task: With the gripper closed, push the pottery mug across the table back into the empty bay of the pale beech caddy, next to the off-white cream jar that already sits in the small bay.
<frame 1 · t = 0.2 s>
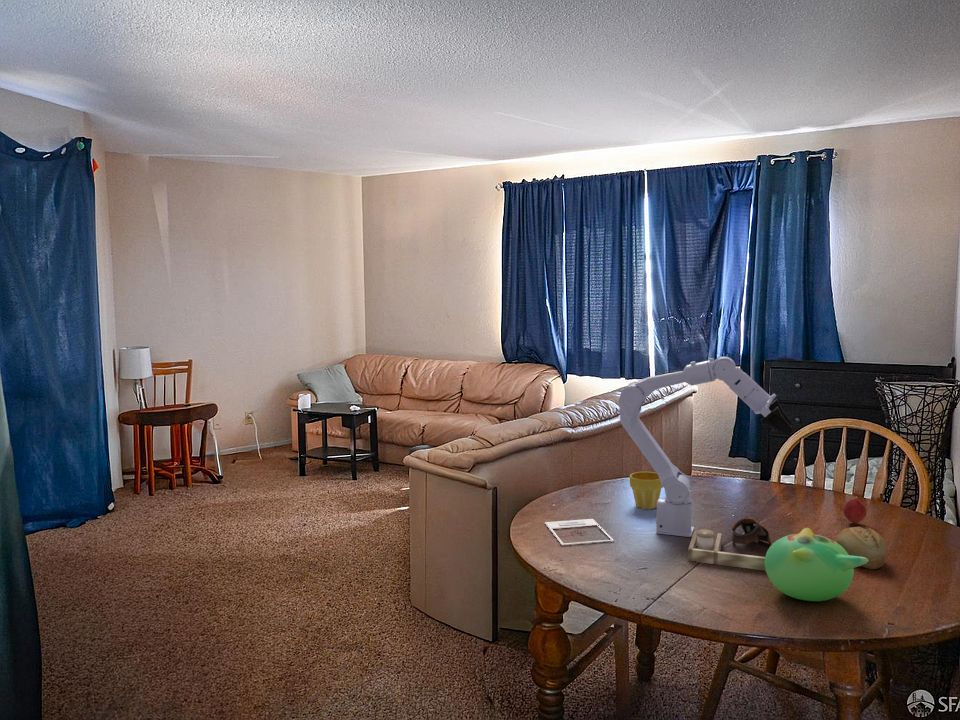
hand: (789, 429, 187), 31 cm above the table, tool tilted 45°, fingers open, 7 cm apart
toy bird: (808, 598, 158), on the table
caddy: (736, 555, 182), on the table
plant pot: (646, 506, 223), on the table
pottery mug: (750, 544, 190), on the table
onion: (854, 524, 204), on the table
photo frame: (578, 534, 201), on the table
cream jar: (705, 553, 184), resting in caddy
bread roll: (860, 560, 179), on the table
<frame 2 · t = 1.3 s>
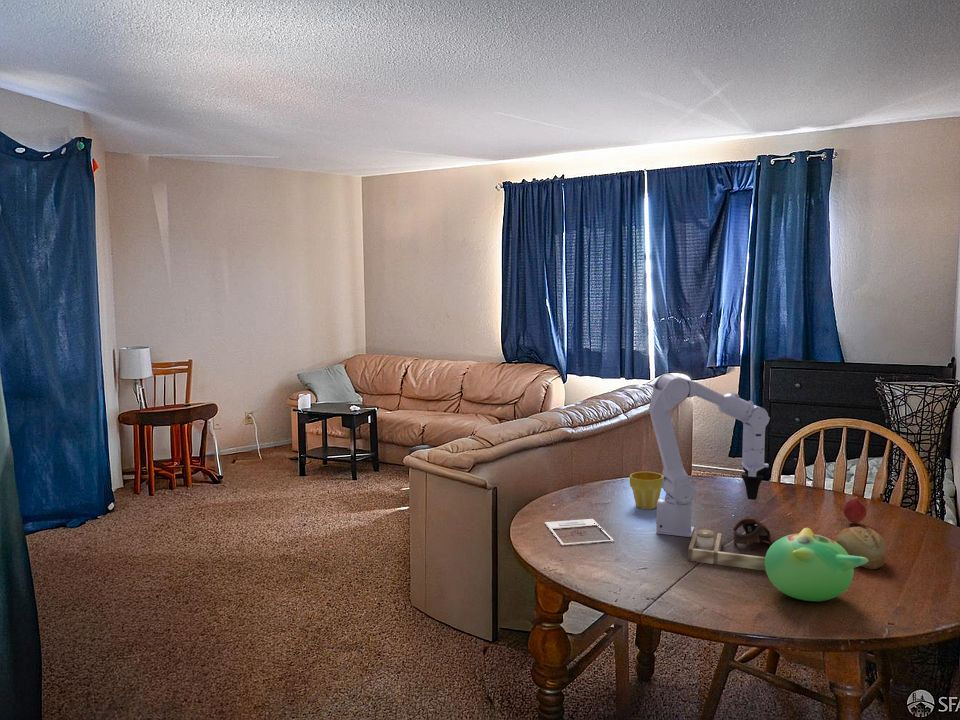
hand: (752, 495, 201), 9 cm above the table, tool pointing down, fingers open, 7 cm apart
nothing on the table moved.
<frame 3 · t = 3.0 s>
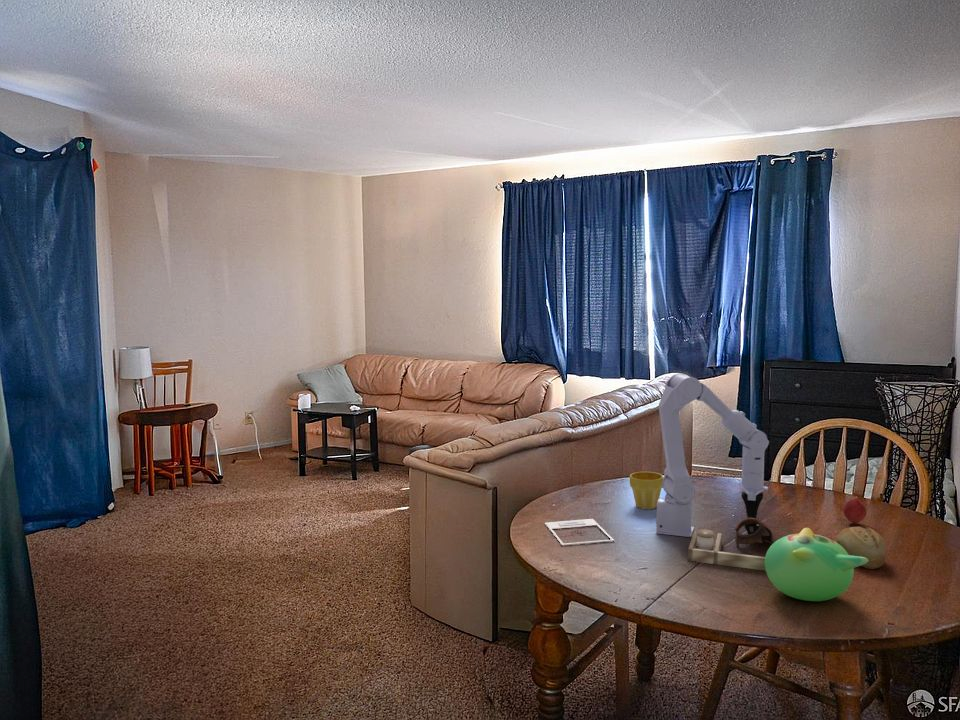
hand: (751, 518, 201), 3 cm above the table, tool pointing down, fingers closed
nothing on the table moved.
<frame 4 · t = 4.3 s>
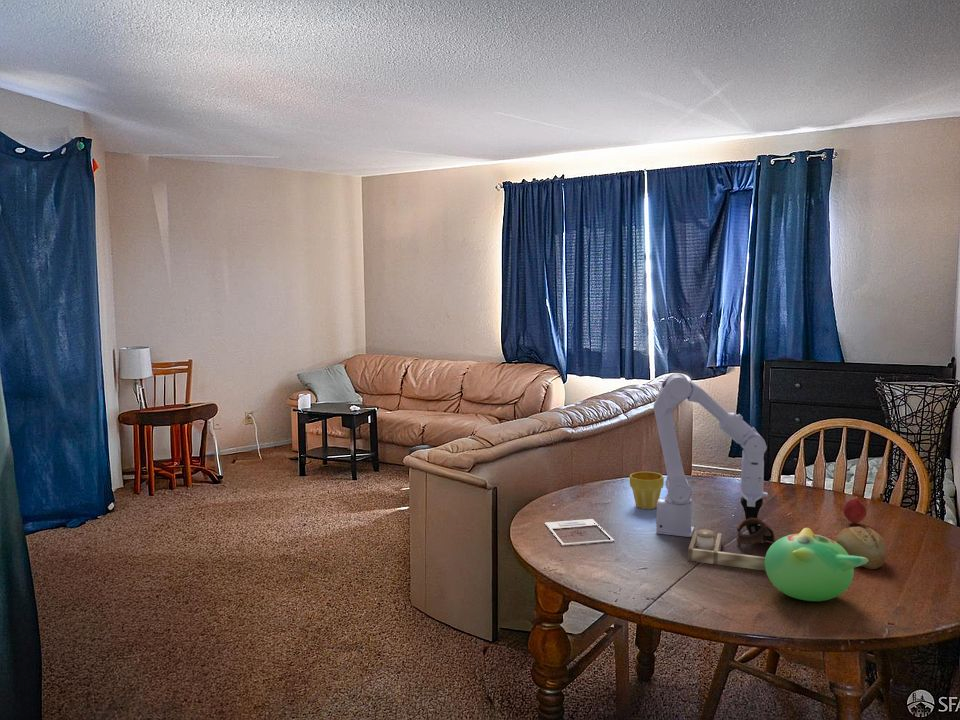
hand: (751, 524, 196), 3 cm above the table, tool pointing down, fingers closed
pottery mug: (755, 545, 190), on the table, touching gripper
everything else where it was.
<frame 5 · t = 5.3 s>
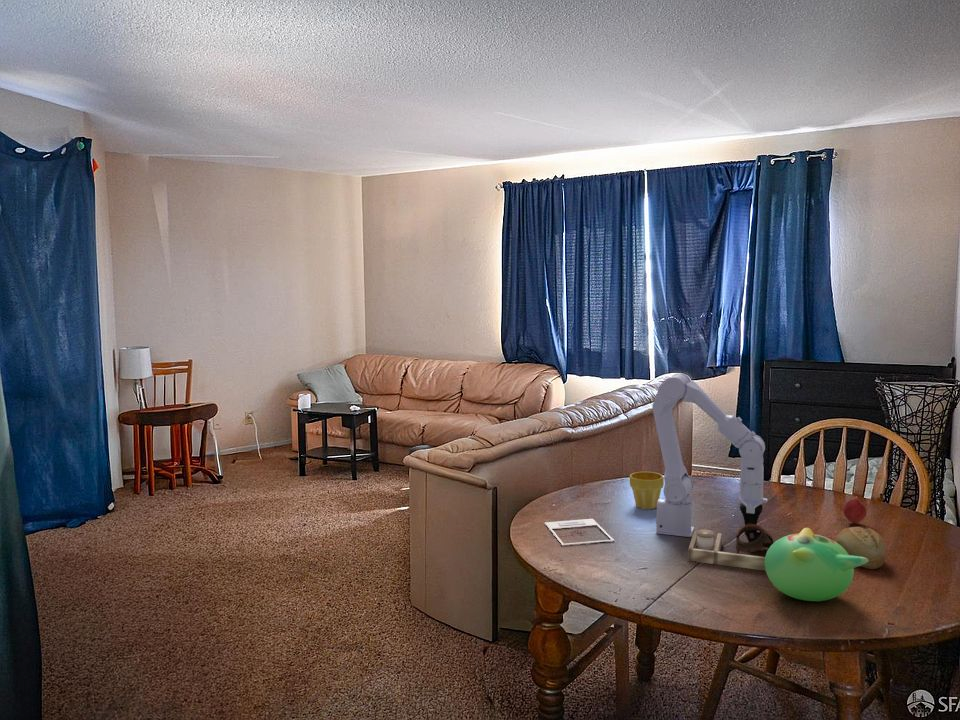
hand: (750, 531, 191), 3 cm above the table, tool pointing down, fingers closed
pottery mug: (754, 552, 184), on the table, touching gripper
everything else where it was.
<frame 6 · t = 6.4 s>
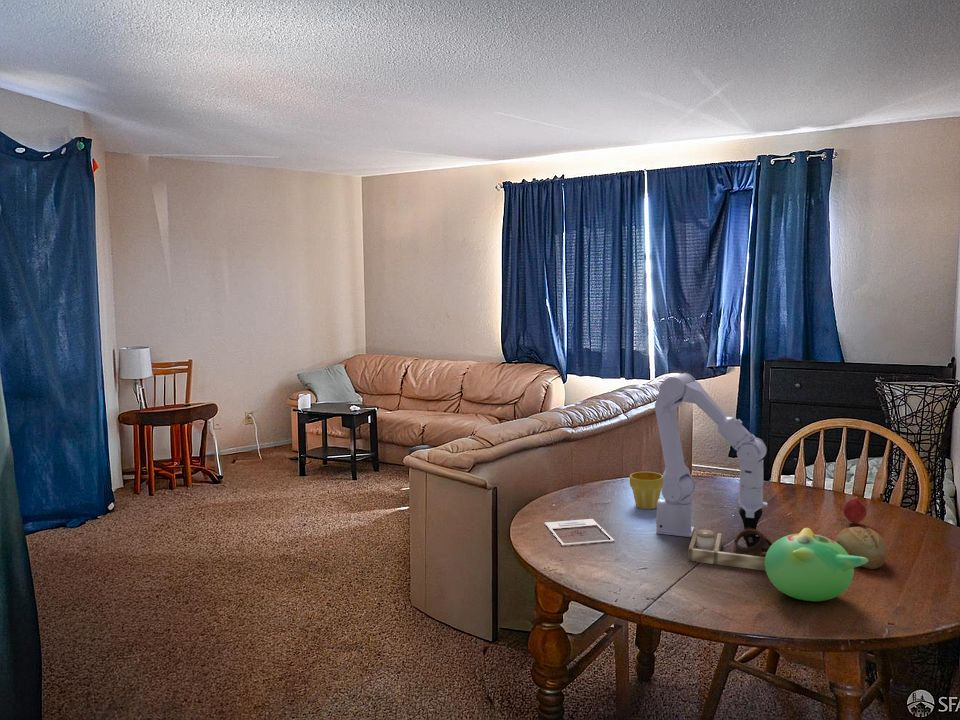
hand: (750, 536, 188), 3 cm above the table, tool pointing down, fingers closed
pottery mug: (753, 557, 181), on the table, touching gripper
everything else where it was.
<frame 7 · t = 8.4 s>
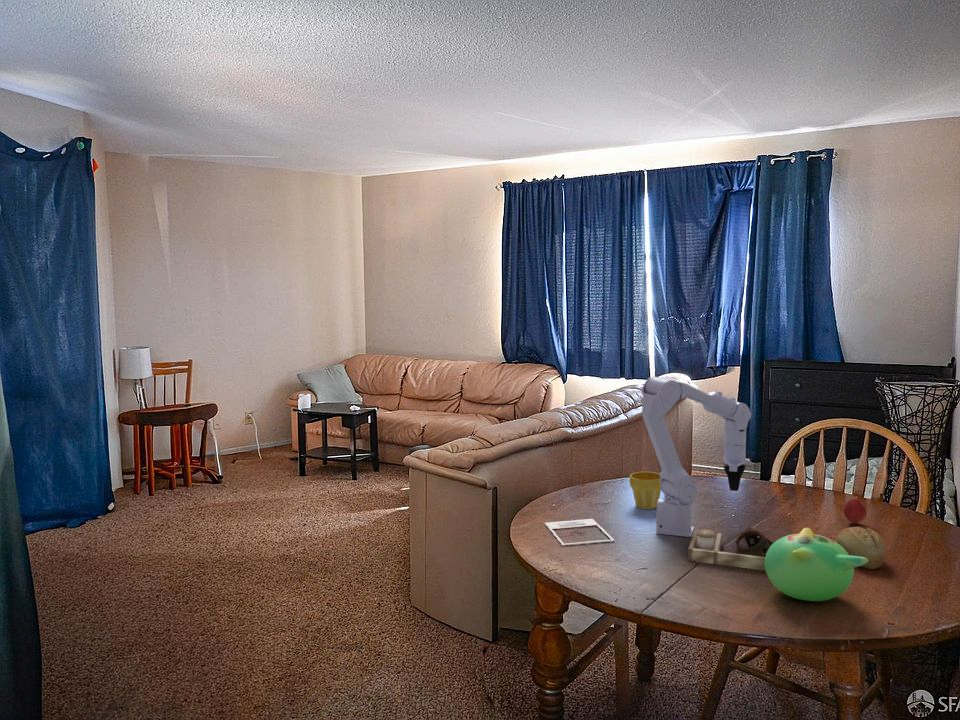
hand: (734, 490, 205), 10 cm above the table, tool pointing down, fingers closed
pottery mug: (754, 558, 181), on the table
everything else where it was.
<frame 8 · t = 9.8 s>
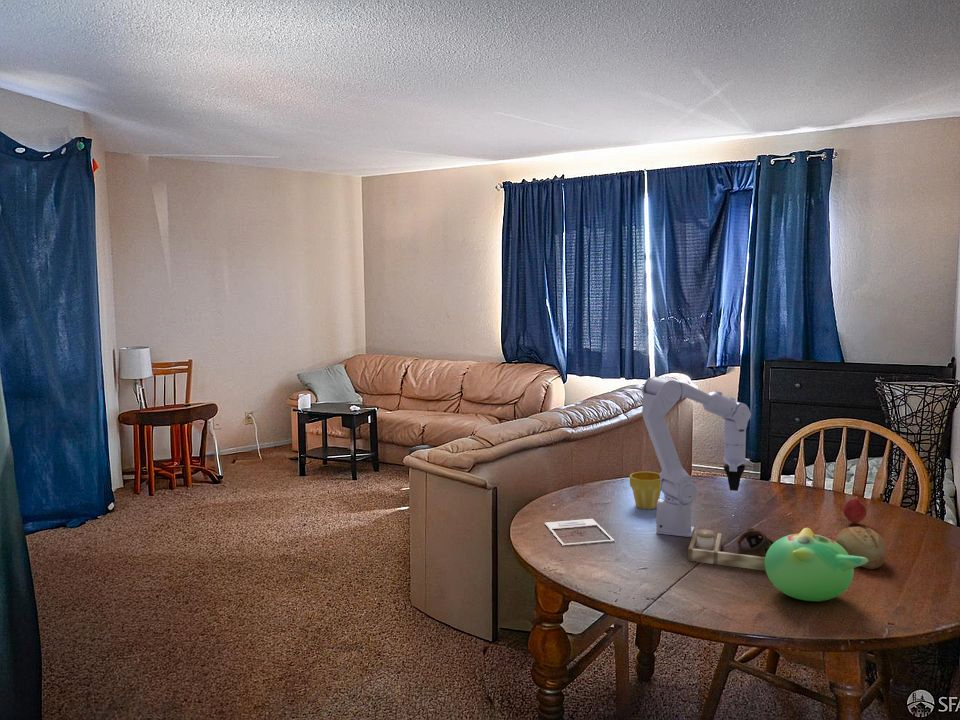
hand: (733, 490, 205), 10 cm above the table, tool pointing down, fingers closed
nothing on the table moved.
at the end: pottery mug inside the target area (2.7 cm from its centre), on the table; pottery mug tilted 2°; cream jar moved 0.0 cm from its start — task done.
